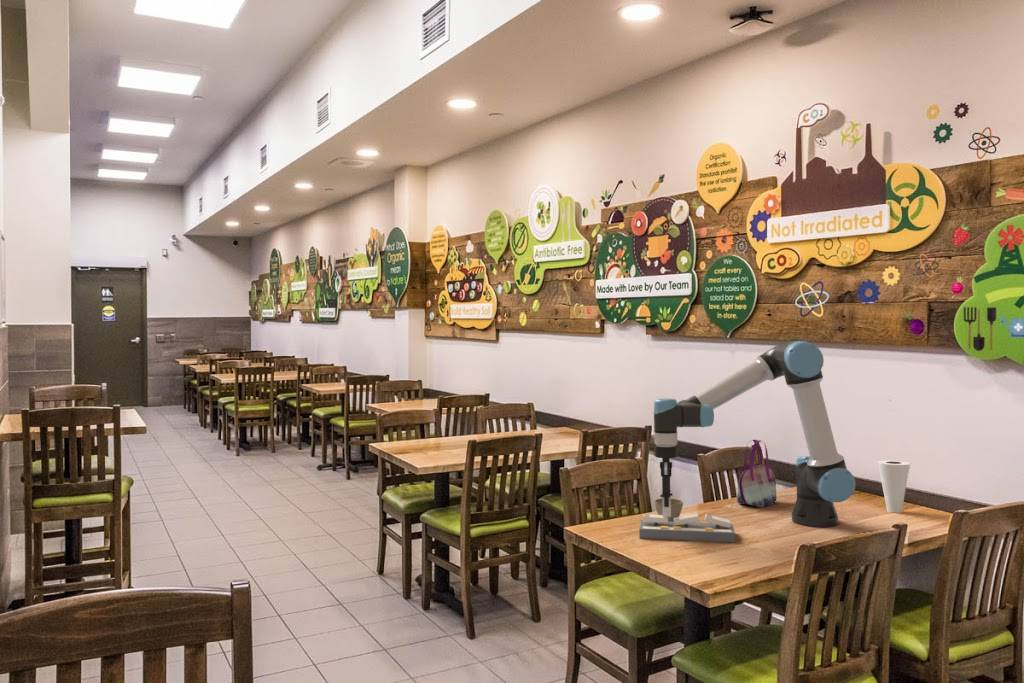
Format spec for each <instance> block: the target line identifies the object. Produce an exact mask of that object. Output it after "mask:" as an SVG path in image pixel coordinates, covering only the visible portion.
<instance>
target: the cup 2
mask: <svg viewBox="0 0 1024 683" xmlns="http://www.w3.org/2000/svg"><path fill="white" fill-rule="evenodd" d="M877 465H878V470H879V476H880V481H881V486H882V491H883V495H884V502H885V506H886V511H887V512H888V513H894V514H901V513H903V512H902V511H903V505H904V500H905V495H906V489H907V483H908V479H909V473H910V467H911V466H910V465H911V463H910V462H908V461H903V460H895V459H894V460H888V459H887V460H878V461H877Z"/></svg>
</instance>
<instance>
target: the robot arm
mask: <svg viewBox="0 0 1024 683" xmlns="http://www.w3.org/2000/svg"><path fill="white" fill-rule="evenodd" d="M823 367H824V356H823V353H822V351H821V350H820V348H819V347H818V346H817V345H815V344H814V343H812V342H808V341H805V340H793V341H792V340H787V341H783V342H780V343H778V344H777V345H775V346H774V347H772V348H770V349H769V350H767V351H765V352H764V353H762V354H760V355H758V356H757V357H756V359H755V361H754V362H752V363H750V364H747V365H746V366H745V367H743V368H741V369H739V370H738V371H736V372H734V373H732V374H730V375H728V376H727V377H725V378H723V379H721V380H719V381H718V382H716V383H714V384H711V385H710V386H708V387H706V388H705V389H702V390H701V391H699V392H697V393H696V394H694V395H693V396H690V397H688V398H687V399H683V400H680V401H677V399H676V398H657V399H655V400H654V401H653V428H654V429H653V432H654V434H653V435H652V436H651V437H652V438H653V440H654V441H653V442H654V444H655V446H654V447H653V449H654V451H653V452H654V457H655V458H659V459H662V460H661V461H660V462H659V468H660V477H661V480H662V481H661V482H662V484H661V488H662V489H661V490H662V493H661V494H660V496H659V497H660V498H661V499H662V513H663V516H666V517H671V499H672V498H671V496H673V493H671V491H672V490H671V477H672V468H673V462H671V461H670V459H676V458H678V446H677V445H678V428H710V427H712V426H713V425H714V421H715V412H714V410H715V409H717V408H718V407H721V406H722V405H724V404H726V403H728V402H730V401H731V400H733V399H735V398H737V397H739V396H741V395H743V394H744V393H746V392H747V391H750V390H751V389H753V388H755V387H757V386H759V385H761V384H763V383H764V382H766V381H771V382H772V381H774V380H775V379H777V378H781V377H783V376H784V380H785V384H786V386H787V387H789V388H790V389H791V390H792V391H793V396H794V400H795V404H796V406H797V412H798V415H799V418H800V423H801V426H802V429H803V431H802V432H803V434H804V438H805V442H806V446H807V449H808V454H809V455H808V456H807V455H806V456H798V457H797V458H796V461H795V462H796V463H795V469H796V470H795V472H796V476H795V478H796V500H795V503H794V506H793V509H792V513H791V521H792V522H793V523H796V524H798V525H802V526H803V525H804V526H807V527H808V526H809V527H817V528H818V527H823V528H824V527H834V526H838V524H839V516H838V513H837V510H836V507H835V504H834V503H842V502H845V501H847V500H849V499H850V498H851V496H852V495H853V493H854V491H855V489H856V479H855V477H854V475H853V473H852V472H851V471H850V470H848V468H847V464H846V462H845V457H844V456H843V455H841V454H839V453H838V449H837V446H836V442H835V438H834V435H833V430H832V426H831V423H830V419H829V418H830V417H829V414H828V410H827V407H826V404H825V400H824V396H823V392H822V389H821V384H820V383H821V381H822V380H823V378H824V375H823V372H822V368H823Z"/></svg>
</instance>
